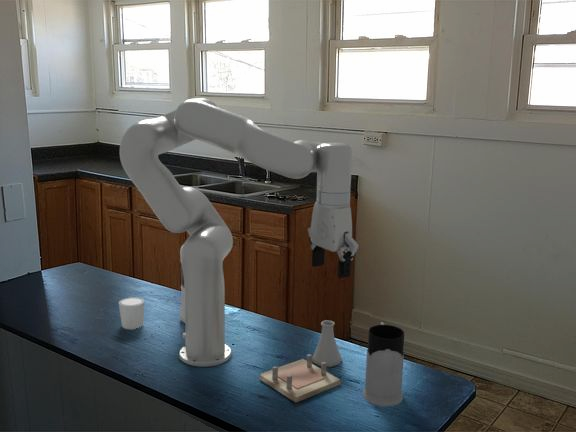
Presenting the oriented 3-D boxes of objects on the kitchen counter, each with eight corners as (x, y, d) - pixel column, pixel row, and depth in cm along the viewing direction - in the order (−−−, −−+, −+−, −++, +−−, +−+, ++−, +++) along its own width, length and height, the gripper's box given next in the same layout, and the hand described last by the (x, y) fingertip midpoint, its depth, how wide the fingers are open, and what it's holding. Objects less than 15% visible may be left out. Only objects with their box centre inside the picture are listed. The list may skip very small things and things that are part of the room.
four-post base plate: (259, 379, 140) (259, 362, 139) (302, 363, 148) (303, 348, 147) (295, 402, 130) (296, 385, 129) (340, 384, 138) (340, 368, 137)
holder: (363, 405, 129) (367, 339, 126) (359, 373, 143) (362, 313, 140) (405, 407, 129) (410, 341, 126) (397, 375, 143) (401, 314, 140)
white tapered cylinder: (127, 332, 163) (125, 307, 162) (115, 324, 168) (114, 300, 167) (150, 326, 168) (149, 301, 166) (138, 318, 173) (137, 295, 171)
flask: (322, 352, 154) (323, 314, 152) (346, 360, 150) (348, 321, 148) (305, 362, 148) (306, 323, 146) (331, 370, 144) (332, 331, 142)
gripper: (297, 193, 142) (295, 264, 146) (344, 207, 128) (341, 284, 132) (323, 190, 146) (321, 259, 150) (371, 203, 132) (367, 279, 136)
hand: (330, 271), depth 141 cm, fingers open, 9 cm apart
